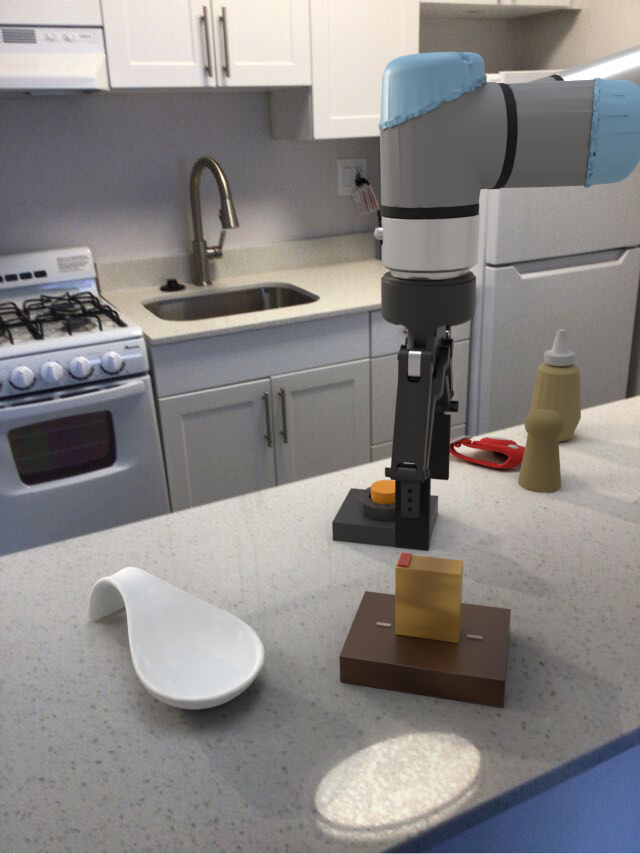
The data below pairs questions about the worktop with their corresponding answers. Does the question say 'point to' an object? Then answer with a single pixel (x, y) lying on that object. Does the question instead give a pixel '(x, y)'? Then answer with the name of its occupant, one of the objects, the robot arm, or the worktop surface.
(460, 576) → the thumbturn
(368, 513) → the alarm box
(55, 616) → the worktop surface
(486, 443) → the red looped piece
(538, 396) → the squeeze bottle
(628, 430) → the worktop surface
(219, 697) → the spoon rest
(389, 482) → the alarm button
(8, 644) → the worktop surface
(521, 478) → the tan pawn
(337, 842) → the worktop surface
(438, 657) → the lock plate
